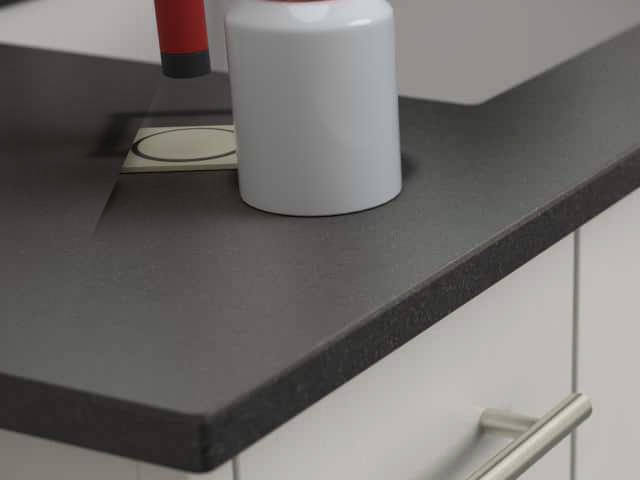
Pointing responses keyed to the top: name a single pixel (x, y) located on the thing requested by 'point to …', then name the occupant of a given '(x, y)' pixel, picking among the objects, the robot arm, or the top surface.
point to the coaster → (182, 149)
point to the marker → (182, 38)
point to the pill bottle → (314, 104)
